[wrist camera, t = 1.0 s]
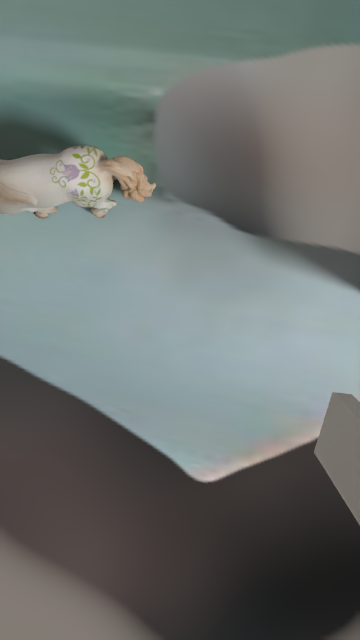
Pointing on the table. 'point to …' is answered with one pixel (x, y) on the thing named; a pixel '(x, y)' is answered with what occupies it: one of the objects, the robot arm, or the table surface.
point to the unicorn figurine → (69, 181)
